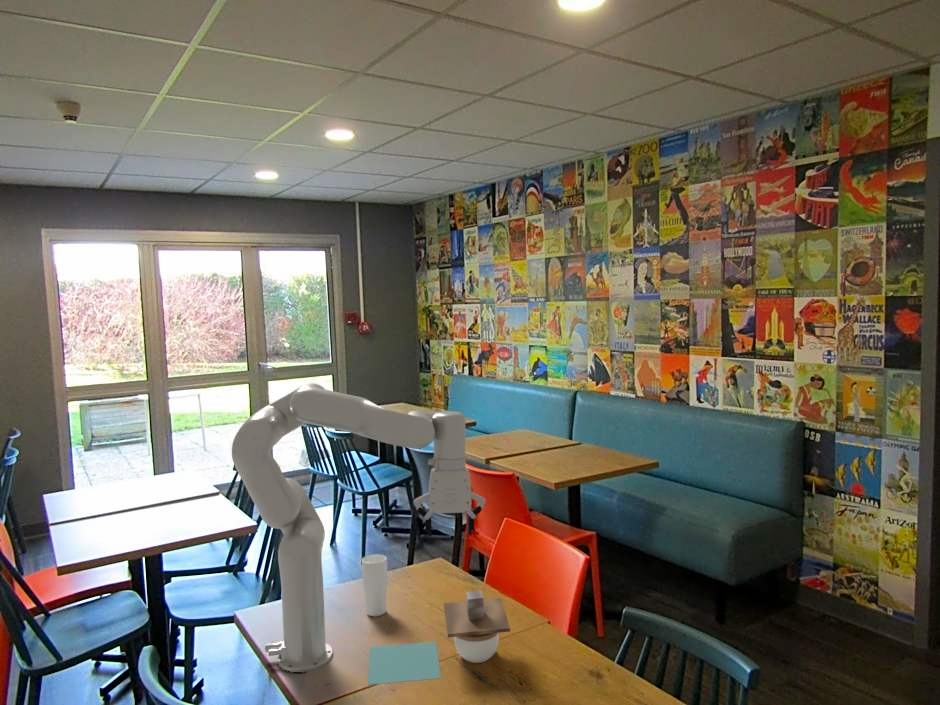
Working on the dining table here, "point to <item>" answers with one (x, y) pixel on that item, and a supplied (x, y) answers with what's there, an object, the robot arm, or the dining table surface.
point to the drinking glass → (375, 583)
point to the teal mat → (403, 663)
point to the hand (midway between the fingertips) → (449, 533)
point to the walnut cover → (475, 616)
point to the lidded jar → (477, 646)
